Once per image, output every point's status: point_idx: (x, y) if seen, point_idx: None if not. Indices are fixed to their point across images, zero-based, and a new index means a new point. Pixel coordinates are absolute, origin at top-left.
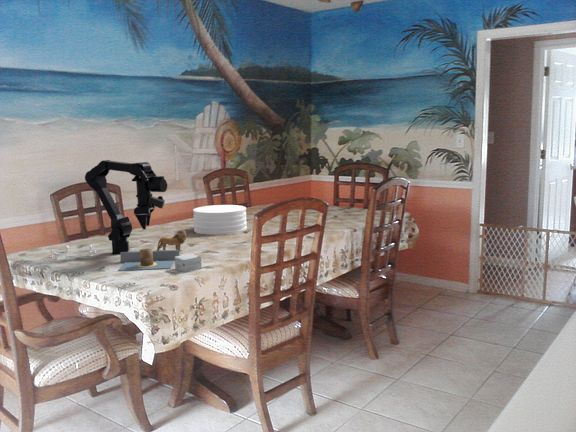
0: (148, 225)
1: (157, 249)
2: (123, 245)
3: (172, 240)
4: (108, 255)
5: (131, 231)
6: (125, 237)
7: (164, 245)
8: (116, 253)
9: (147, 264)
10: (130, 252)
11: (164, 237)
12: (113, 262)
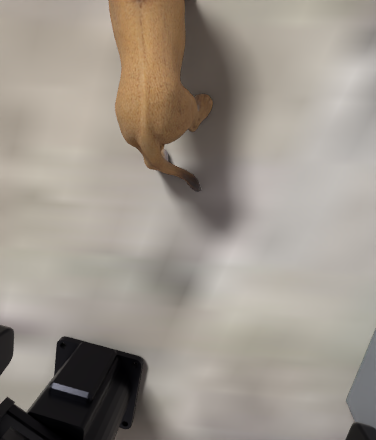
0: (12, 333)
1: (184, 175)
2: (108, 405)
3: (181, 11)
4: (150, 437)
5: (4, 435)
6: (45, 432)
7: (196, 114)
8: (135, 405)
9: None
10: None
11: (152, 99)
12: (344, 437)
